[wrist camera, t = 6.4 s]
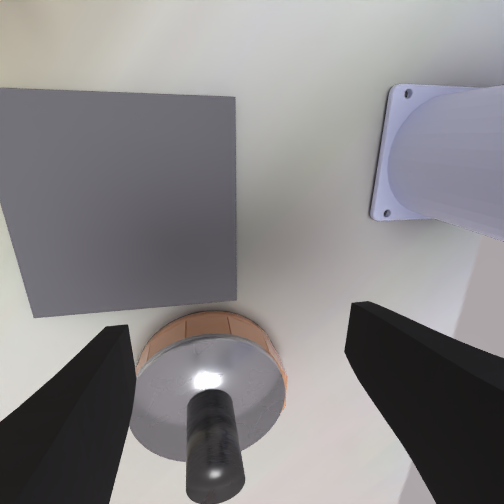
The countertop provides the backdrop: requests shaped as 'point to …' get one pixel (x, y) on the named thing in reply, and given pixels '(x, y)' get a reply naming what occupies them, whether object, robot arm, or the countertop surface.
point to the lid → (207, 408)
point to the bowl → (206, 325)
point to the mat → (119, 198)
